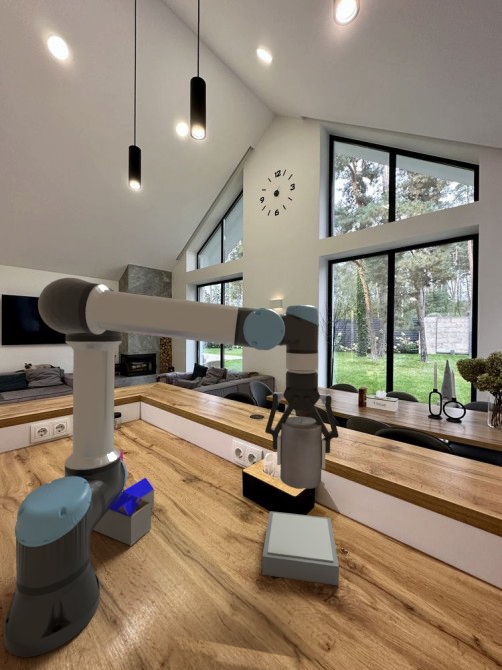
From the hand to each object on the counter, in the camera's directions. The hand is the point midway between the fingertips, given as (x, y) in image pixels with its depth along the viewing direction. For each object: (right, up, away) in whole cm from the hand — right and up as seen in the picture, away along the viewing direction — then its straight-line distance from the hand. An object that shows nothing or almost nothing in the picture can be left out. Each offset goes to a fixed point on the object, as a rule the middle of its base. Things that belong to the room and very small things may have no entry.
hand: (300, 464), depth 69 cm
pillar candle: (0, -4, 0) cm, 4 cm away
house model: (-50, -21, +14) cm, 56 cm away
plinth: (0, -21, 0) cm, 21 cm away
